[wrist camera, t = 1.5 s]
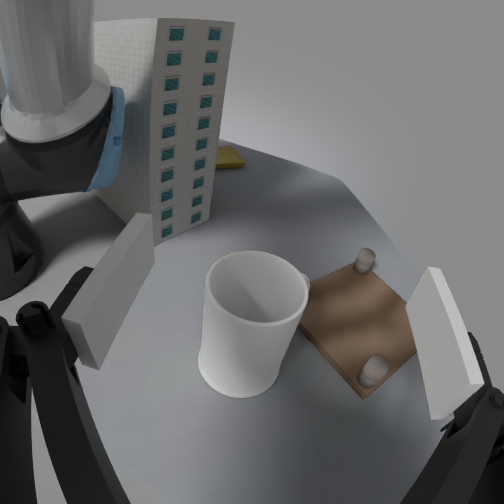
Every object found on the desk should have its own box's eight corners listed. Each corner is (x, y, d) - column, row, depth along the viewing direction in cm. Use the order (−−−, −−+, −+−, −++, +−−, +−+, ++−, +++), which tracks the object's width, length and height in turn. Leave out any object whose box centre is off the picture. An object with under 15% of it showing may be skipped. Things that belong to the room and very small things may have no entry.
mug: (272, 309, 39) (296, 230, 31) (317, 361, 34) (359, 287, 26) (184, 347, 33) (183, 264, 25) (225, 412, 28) (241, 347, 20)
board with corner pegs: (276, 302, 40) (283, 279, 37) (357, 264, 48) (366, 244, 45) (362, 399, 31) (379, 382, 28) (432, 335, 39) (447, 317, 36)
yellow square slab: (231, 153, 73) (232, 145, 71) (246, 170, 67) (247, 161, 66) (195, 156, 69) (196, 147, 68) (206, 173, 64) (207, 164, 62)
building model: (233, 208, 54) (262, 26, 35) (152, 247, 44) (157, 18, 25) (162, 164, 63) (172, 19, 44) (91, 190, 53) (86, 23, 34)
